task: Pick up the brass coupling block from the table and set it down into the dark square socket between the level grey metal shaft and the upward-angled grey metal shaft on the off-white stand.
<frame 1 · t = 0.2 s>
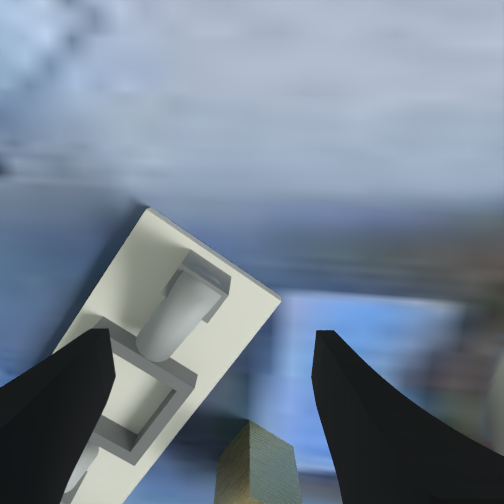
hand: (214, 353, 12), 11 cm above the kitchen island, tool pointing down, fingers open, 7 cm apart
coupling block: (255, 451, 26), on the kitchen island
coupling stand: (128, 376, 24), on the kitchen island
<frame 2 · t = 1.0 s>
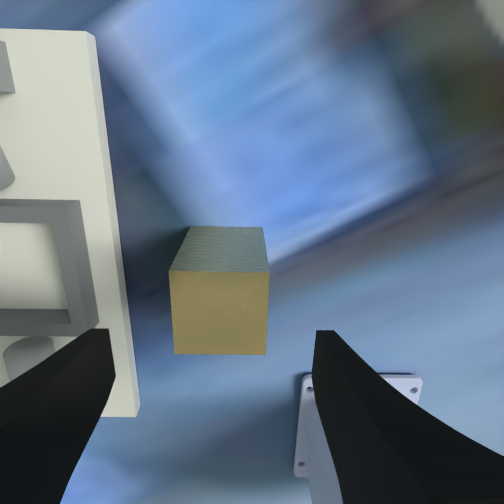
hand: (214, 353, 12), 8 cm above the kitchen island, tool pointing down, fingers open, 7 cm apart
coupling block: (226, 259, 20), on the kitchen island
coupling stand: (33, 257, 20), on the kitchen island
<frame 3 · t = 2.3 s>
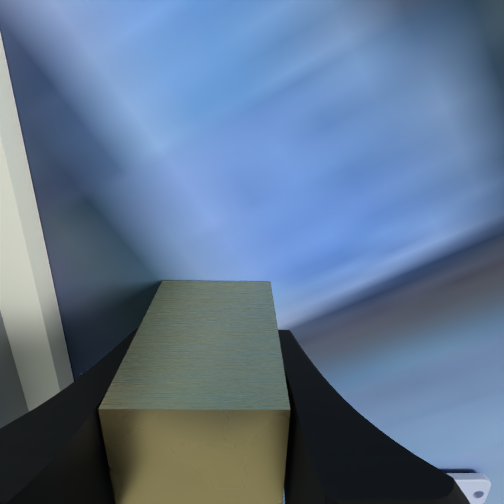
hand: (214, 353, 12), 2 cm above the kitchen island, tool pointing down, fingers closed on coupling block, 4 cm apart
coupling block: (217, 326, 13), on the kitchen island, touching gripper
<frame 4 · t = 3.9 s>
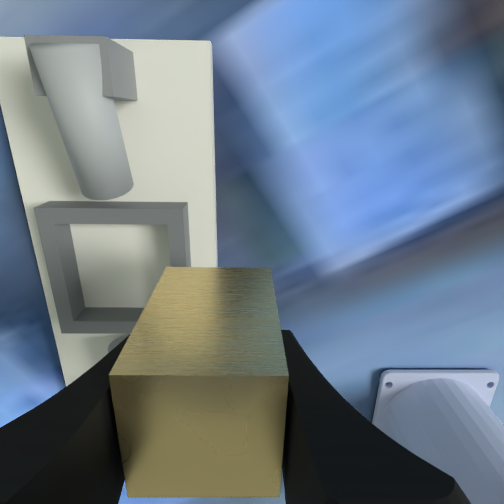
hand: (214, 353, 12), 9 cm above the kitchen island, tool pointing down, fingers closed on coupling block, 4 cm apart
coupling block: (219, 312, 14), point 7 cm above the kitchen island, touching gripper
coupling stand: (132, 257, 20), on the kitchen island
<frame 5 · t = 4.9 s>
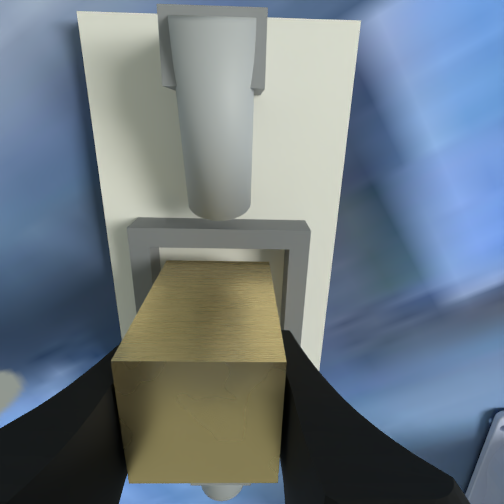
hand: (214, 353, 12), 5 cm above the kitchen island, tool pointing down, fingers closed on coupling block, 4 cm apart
coupling block: (218, 305, 14), point 3 cm above the kitchen island, touching gripper
coupling stand: (223, 283, 17), on the kitchen island
when the fingers open (4 cm above the kitchen island, at t = 5.6 s): coupling block stays where it is, resting on coupling stand.
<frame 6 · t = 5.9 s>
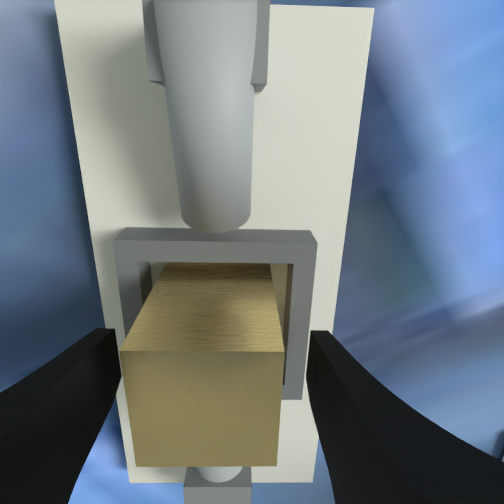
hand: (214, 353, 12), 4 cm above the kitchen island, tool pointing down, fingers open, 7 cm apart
coupling block: (219, 300, 15), point 1 cm above the kitchen island, touching coupling stand
coupling stand: (221, 297, 16), on the kitchen island
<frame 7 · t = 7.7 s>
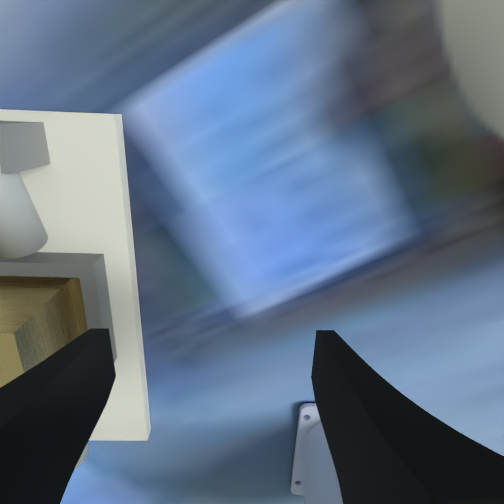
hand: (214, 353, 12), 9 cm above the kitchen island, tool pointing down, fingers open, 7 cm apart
coupling block: (49, 301, 21), point 1 cm above the kitchen island, touching coupling stand
coupling stand: (58, 299, 22), on the kitchen island
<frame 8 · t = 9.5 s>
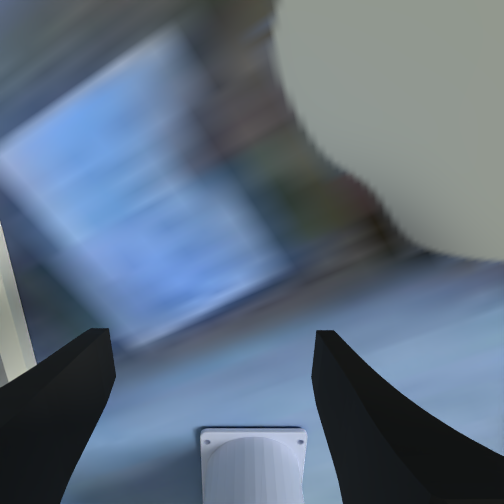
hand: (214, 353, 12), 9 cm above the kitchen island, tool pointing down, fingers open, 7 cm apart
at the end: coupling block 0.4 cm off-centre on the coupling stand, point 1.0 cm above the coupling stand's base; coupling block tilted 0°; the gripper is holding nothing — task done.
